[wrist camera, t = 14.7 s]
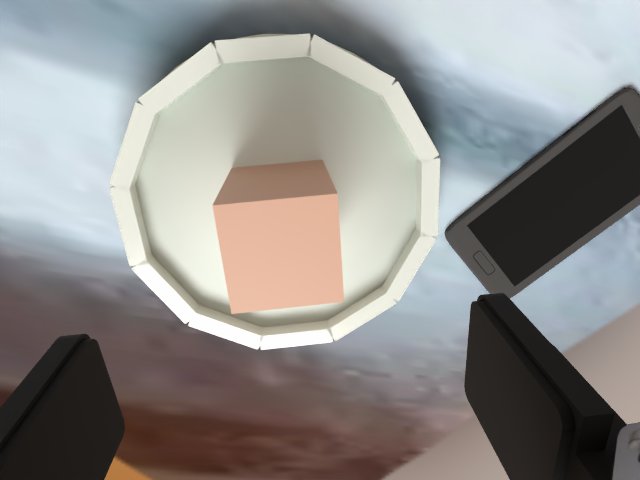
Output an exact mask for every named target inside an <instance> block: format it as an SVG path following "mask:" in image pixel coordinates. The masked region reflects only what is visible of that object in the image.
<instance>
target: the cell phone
mask: <svg viewBox="0 0 640 480" xmlns="http://www.w3.org/2000/svg"><path fill="white" fill-rule="evenodd" d="M638 205H640V95H639V94H638V93H637V91H636V90H634V89H631V88H625V89H623V90H621V91H619V92H618V93H616V94H615V95H614V96H612V97H611V98H609V99H608V100H607V101H605V102H604V103H603V104H601V105H600V106H599V107H598V108H596V109H595V110H594V111H592V112H591V113H590V114H589V115H587V116H586V117H585V118H584V119H582V120H581V121H580V122H579V123H577V124H576V125H575V126H573V127H572V128H571V129H570V130H568V131H567V132H566V133H565V134H563V135H562V136H561V137H560V138H558V139H557V140H556V141H555V142H553V143H552V144H551V145H549V146H548V147H547V148H546V149H544V150H543V151H542V152H541V153H539V154H538V155H537V156H536V157H534V158H533V159H532V160H531V161H529V162H528V163H527V164H525V165H524V166H523V167H522V168H520V169H519V170H518V171H517V172H515V173H514V174H513V175H512V176H510V177H509V178H508V179H507V180H505V181H504V182H503V183H501V184H500V185H499V186H498V187H496V188H495V189H494V190H493V191H491V192H490V193H489V194H488V195H486V196H485V197H484V198H483V199H481V200H480V201H479V202H478V203H476V204H475V205H474V206H472V207H471V208H470V209H469V210H467V211H466V212H465V213H464V214H462V215H461V216H460V217H459V218H457V219H456V220H455V221H454V222H453V223H452V224H451V225H450V226H449V227H448V228H447V229H446V231H445V237H446V239H447V241H448V242H449V244H450V245H451V247H452V248H453V249H454V250H455V252H456V253H457V254H458V255H459V256H460V258H461V259H462V260H463V261H464V263H465V264H466V265H467V266H468V267H469V269H470V270H471V271H472V272H473V274H474V275H475V276H476V277H477V278H478V280H479V281H480V282H481V283H482V285H483V286H484V287H485V288H486V289H487V291H488V292H489V293H490V294H496V293H504V294H505V295H506V296H507V297H508V298H509V299H510V298H511V297H513V296H514V295H516V294H517V293H519V292H520V291H522V290H523V289H524V288H526V287H527V286H528V285H530V284H531V283H533V282H534V281H535V280H537V279H538V278H539V277H541V276H542V275H544V274H545V273H546V272H548V271H549V270H550V269H552V268H553V267H555V266H556V265H557V264H559V263H560V262H561V261H563V260H564V259H566V258H567V257H568V256H570V255H571V254H572V253H574V252H575V251H577V250H578V249H579V248H581V247H582V246H583V245H585V244H586V243H588V242H589V241H590V240H592V239H593V238H594V237H596V236H597V235H599V234H600V233H601V232H603V231H604V230H605V229H607V228H608V227H610V226H611V225H612V224H614V223H615V222H616V221H618V220H619V219H621V218H622V217H623V216H625V215H626V214H627V213H629V212H630V211H632V210H633V209H634V208H636V207H637V206H638Z"/></svg>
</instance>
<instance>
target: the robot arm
mask: <svg viewBox="0 0 640 480" xmlns="http://www.w3.org/2000/svg"><path fill="white" fill-rule="evenodd" d="M465 393H466V396H467V399H468V401H469V403H470V405H471V407H472V409H473V410H474V412H475V414H476V416H477V418H478V420H479V422H480V424H481V426H482V427H483V429H484V431H485V433H486V435H487V437H488V439H489V441H490V443H491V445H492V447H493V448H494V450H495V452H496V454H497V456H498V458H499V460H500V462H501V463H502V465H503V467H504V469H505V471H506V473H507V475H508V477H509V479H510V480H640V422H638V423H633V424H628V425H627V424H626V423H625V422H624V421H623V420H622V419H621V418H620V417H619V416H618V414H617V413H616V412H615V411H614V410H613V409H612V408H611V407H610V406H609V405H608V404H607V403H606V401H605V400H604V399H603V398H602V397H601V396H600V395H599V394H598V393H597V392H596V391H595V390H594V388H593V387H592V386H591V385H590V384H589V383H588V382H587V381H586V380H585V379H584V378H583V377H582V375H581V374H580V373H579V372H578V371H577V370H576V369H575V368H574V367H573V366H572V365H571V364H570V362H569V361H568V360H567V359H566V358H565V357H564V356H563V355H562V354H561V353H560V352H559V351H558V349H557V348H556V347H555V346H553V345H552V344H551V343H550V342H549V341H548V340H547V339H546V338H545V337H544V336H543V335H542V334H541V332H540V331H539V330H538V329H537V328H536V327H535V326H534V325H533V324H532V323H531V322H530V321H529V319H528V318H527V317H526V316H525V315H524V314H523V313H522V312H521V311H520V310H519V309H518V307H517V306H516V305H515V304H514V303H513V302H512V301H511V300H510V299H509V298H508V297H507V296H506V295H505V294H504V293H496V294H486V295H480V296H479V297H478V299H477V301H473V302H472V304H471V311H470V323H469V335H468V347H467V360H466V372H465ZM124 428H125V425H124V419H123V416H122V413H121V410H120V407H119V404H118V401H117V398H116V395H115V392H114V389H113V386H112V383H111V380H110V377H109V374H108V371H107V368H106V365H105V362H104V359H103V356H102V354H101V351H100V348H99V345H98V342H97V341H96V340H95V339H90V337H89V336H88V335H87V334H79V335H68V336H61V337H59V338H58V339H57V340H56V341H55V342H54V343H53V344H52V346H51V347H50V348H49V349H48V351H47V352H46V353H45V354H44V355H43V357H42V358H41V359H40V360H39V362H38V363H37V364H36V365H35V366H34V368H33V369H32V370H31V371H30V372H29V374H28V375H27V376H26V377H25V379H24V380H23V381H22V382H21V383H20V385H19V386H18V387H17V388H16V390H15V391H14V392H13V393H12V394H11V396H10V397H9V398H8V399H7V401H6V402H5V403H4V404H3V405H2V407H1V408H0V480H104V479H105V477H106V474H107V472H108V469H109V467H110V465H111V463H112V460H113V458H114V456H115V454H116V451H117V449H118V447H119V444H120V442H121V440H122V437H123V434H124Z"/></svg>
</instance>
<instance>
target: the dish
mask: <svg viewBox="0 0 640 480" xmlns="http://www.w3.org/2000/svg"><path fill="white" fill-rule="evenodd" d="M215 44H216V45H215ZM215 44H214V43H212V42H210V43H209V44H208V45H206V46H205V47H204V48H203V49H201V50H200V51H199V52H197V53H196V54H195V55H193V56H192V57H190V58H189V59H187V60H186V61H184V62H183V63H181V64H180V65H178V66H177V67H176V68H174V69H173V70H172V71H171V72H170V73H169V74H168V75H167V76H166V77H165V78H163V79H162V80H161V81H160V82H159V83H158V84H156V85H155V86H154V87H152V88H151V89H150V90H149V91H147V92H146V93H145V94H143V95H142V96H141V97H140V98H138V100H139V102H135V105H134V109H133V112H132V115H131V118H130V121H129V124H128V127H127V130H126V133H125V136H124V140H123V143H122V146H121V149H120V152H119V155H118V158H117V161H116V164H115V167H114V171H113V174H112V177H111V180H110V183H109V184H110V185H112V186H111V187H110V188H109V190H110V194H111V198H112V201H113V205H114V209H115V213H116V216H117V220H118V224H119V228H120V231H121V235H122V239H123V243H124V247H125V250H126V254H127V258H128V262H129V265H130V266H133V268H132V270H133V271H134V272H135V273H136V274H137V275H138V276H139V277H140V278H141V279H142V280H143V281H144V282H145V283H146V284H147V285H148V287H149V288H150V289H151V290H152V291H153V292H154V293H155V294H156V295H157V296H158V297H159V298H160V299H161V300H162V301H163V302H164V303H165V304H166V305H167V306H168V307H169V308H170V309H171V310H172V311H173V312H174V313H175V314H176V315H177V316H178V317H179V318H180V319H181V320H182V321H183V322H184V323H185V324H186V323H187V322H189V321H190V322H189V324H188V326H190V327H193V328H196V329H199V330H202V331H205V332H208V333H211V334H214V335H217V336H220V337H223V338H225V339H228V340H231V341H234V342H237V343H240V344H243V345H246V346H249V347H252V348H255V349H258V348H259V346H261V350H265V349H274V348H283V347H292V346H302V345H311V344H320V343H329V342H332V337H333V338H334V340H335V341H337V340H338V339H340V338H341V337H343V336H345V335H346V334H348V333H349V332H351V331H353V330H354V329H356V328H358V327H359V326H361V325H362V324H364V323H366V322H367V321H369V320H371V319H372V318H374V317H375V316H377V315H379V314H380V313H382V312H384V311H385V310H387V309H388V308H390V307H392V306H393V305H395V304H396V302H395V300H397V301H399V300H400V298H401V297H402V295H403V293H404V292H405V290H406V288H407V287H408V285H409V284H410V282H411V280H412V279H413V277H414V275H415V274H416V272H417V270H418V269H419V267H420V265H421V264H422V262H423V261H424V259H425V257H426V256H427V254H428V252H429V251H430V249H431V247H432V246H433V244H434V242H435V241H436V238H435V237H434V236H438V210H439V181H440V158H439V157H437V156H438V155H439V153H438V151H437V150H436V148H435V146H434V144H433V143H432V141H431V139H430V137H429V135H428V134H427V132H426V130H425V128H424V127H423V125H422V123H421V121H420V119H419V118H418V116H417V114H416V112H415V110H414V109H413V107H412V105H411V103H410V102H409V100H408V98H407V96H406V94H405V93H404V91H403V89H402V87H401V86H400V84H399V82H398V81H394V80H395V78H394V77H392V76H390V75H388V74H386V73H384V72H383V71H381V70H379V69H377V68H375V67H374V66H373V65H371V64H370V63H368V62H367V61H365V60H364V59H362V58H360V57H359V56H357V55H356V54H354V53H352V52H350V51H348V50H345V49H343V48H341V47H339V46H337V45H334V44H332V43H329V42H327V41H325V40H324V39H322V38H320V37H318V36H316V35H313V37H312V38H311V37H310V34H296V35H291V34H259V35H253V36H246V37H239V38H236V39H229V40H215ZM312 160H323V162H324V164H325V166H326V169H327V171H328V173H329V175H330V178H331V180H332V182H333V184H334V186H335V189H336V191H337V193H338V207H339V223H340V240H341V256H342V273H343V289H344V302H339V303H330V304H320V305H311V306H302V307H292V308H283V309H274V310H264V311H255V312H246V313H236V314H231V308H230V303H229V297H228V291H227V286H226V280H225V274H224V269H223V263H222V257H221V252H220V246H219V240H218V235H217V229H216V223H215V218H214V212H213V206H212V205H213V203H214V201H215V199H216V197H217V195H218V193H219V191H220V190H221V188H222V186H223V184H224V182H225V180H226V178H227V176H228V174H229V172H230V170H231V168H235V167H246V166H257V165H268V164H279V163H290V162H301V161H312Z"/></svg>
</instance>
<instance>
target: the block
mask: <svg viewBox="0 0 640 480" xmlns="http://www.w3.org/2000/svg"><path fill="white" fill-rule="evenodd" d="M212 206H213V212H214V218H215V223H216V229H217V235H218V240H219V246H220V252H221V257H222V263H223V269H224V274H225V280H226V286H227V291H228V297H229V303H230V308H231V314H236V313H246V312H255V311H264V310H274V309H283V308H292V307H302V306H311V305H320V304H330V303H339V302H344V289H343V273H342V256H341V240H340V223H339V207H338V193H337V191H336V189H335V186H334V184H333V182H332V180H331V178H330V175H329V173H328V171H327V169H326V166H325V164H324V162H323V160H312V161H301V162H290V163H279V164H268V165H257V166H246V167H235V168H231V170H230V172H229V174H228V176H227V178H226V180H225V182H224V184H223V186H222V188H221V190H220V191H219V193H218V195H217V197H216V199H215V201H214V203H213V205H212Z"/></svg>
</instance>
